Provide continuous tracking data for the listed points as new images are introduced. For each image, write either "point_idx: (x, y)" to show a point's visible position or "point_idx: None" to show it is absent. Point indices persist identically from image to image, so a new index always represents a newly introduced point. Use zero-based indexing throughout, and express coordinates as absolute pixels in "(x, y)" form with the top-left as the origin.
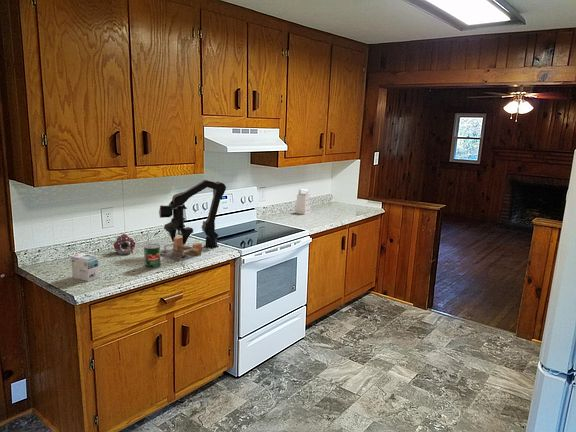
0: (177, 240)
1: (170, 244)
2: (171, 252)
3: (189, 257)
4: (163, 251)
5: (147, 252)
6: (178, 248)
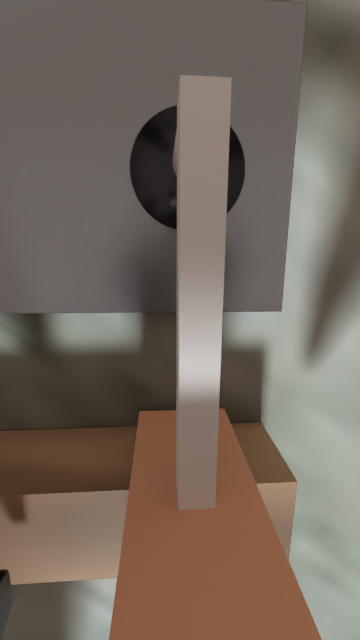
0: (113, 616)
1: (177, 328)
2: (54, 224)
3: None
4: None
5: None
6: None
